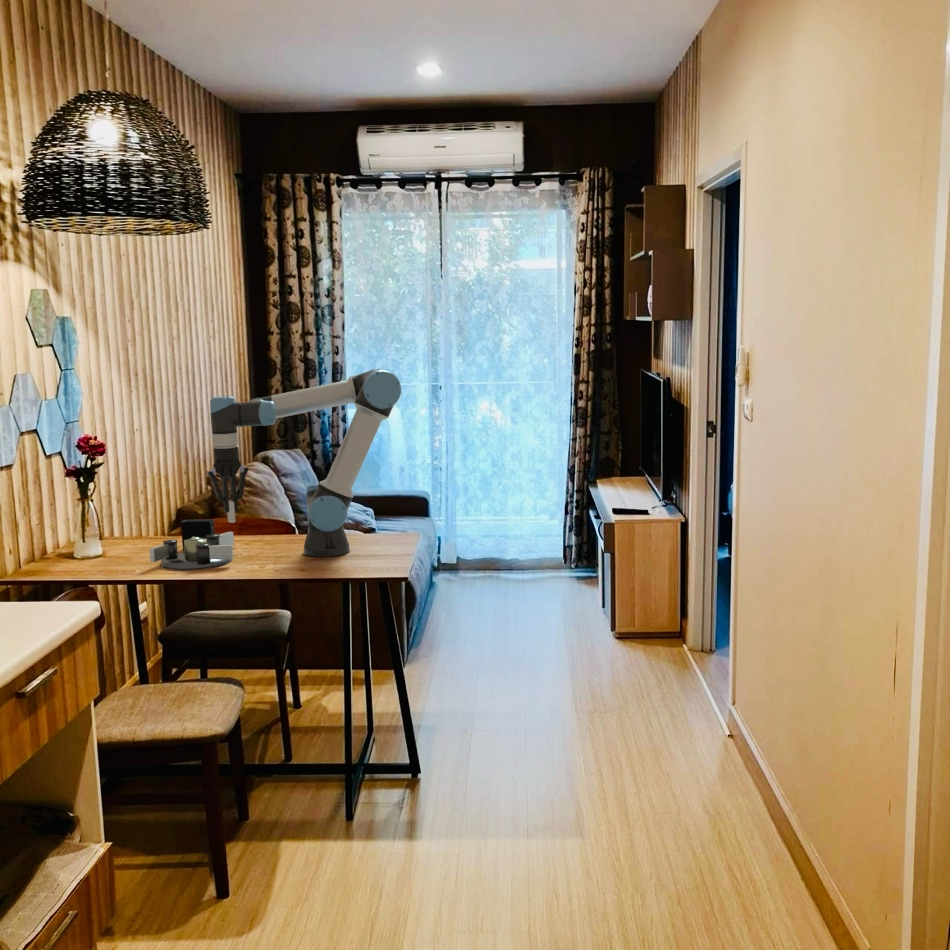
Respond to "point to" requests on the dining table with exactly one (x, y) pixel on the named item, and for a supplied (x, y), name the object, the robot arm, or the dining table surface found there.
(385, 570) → the dining table surface
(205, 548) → the knob
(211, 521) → the electronic device
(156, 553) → the knob
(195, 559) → the tribrach
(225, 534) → the knob
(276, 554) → the dining table surface
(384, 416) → the robot arm
